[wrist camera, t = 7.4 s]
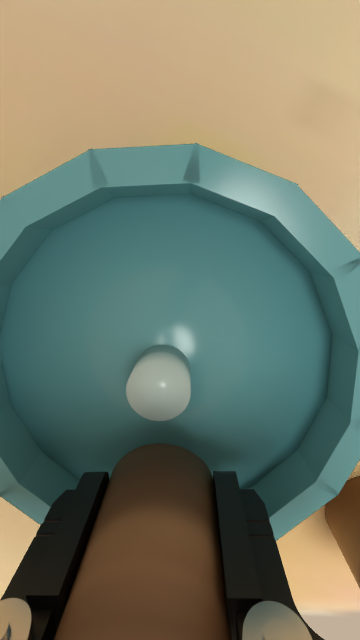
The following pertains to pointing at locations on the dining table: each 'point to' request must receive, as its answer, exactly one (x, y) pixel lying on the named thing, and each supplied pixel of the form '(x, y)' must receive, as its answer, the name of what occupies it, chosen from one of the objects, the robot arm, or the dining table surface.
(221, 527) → the robot arm
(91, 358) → the groove tray
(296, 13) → the dining table surface
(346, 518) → the walnut bead
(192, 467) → the walnut bead
